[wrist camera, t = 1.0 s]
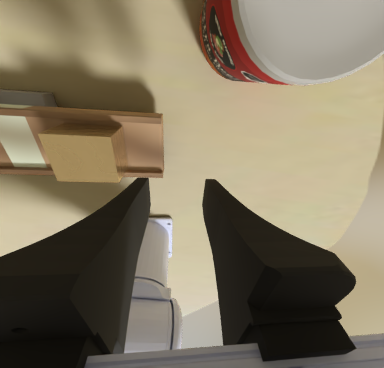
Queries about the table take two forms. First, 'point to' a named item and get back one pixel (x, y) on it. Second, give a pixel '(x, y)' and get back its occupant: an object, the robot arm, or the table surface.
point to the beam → (53, 116)
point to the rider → (86, 152)
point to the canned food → (291, 39)
